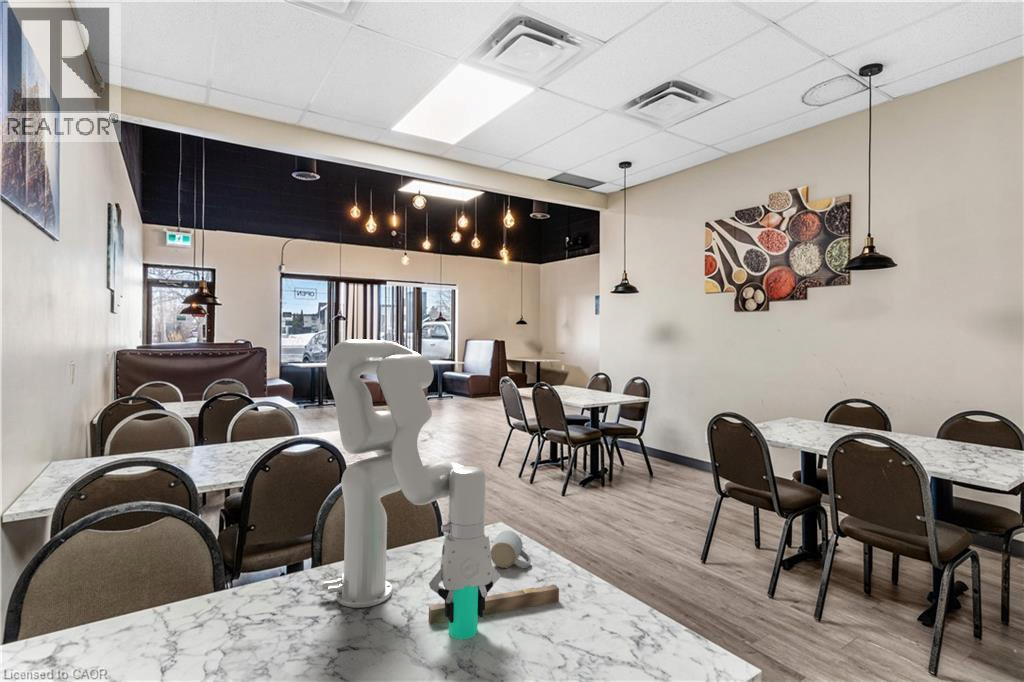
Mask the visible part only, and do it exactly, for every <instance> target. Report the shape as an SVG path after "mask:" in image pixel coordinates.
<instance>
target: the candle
mask: <svg viewBox="0 0 1024 682" xmlns="http://www.w3.org/2000/svg"><path fill="white" fill-rule="evenodd" d="M452 602H453V603H454V621H453V623H450V621H448V635H450V636H451V638H454V639H457V640H469V639H470V638H473V637H474V636H476V635H477V633H478V617H479V616H478V587H471V585H470V586H465V588H464V589H460V590H454V591H453V599H452Z"/></svg>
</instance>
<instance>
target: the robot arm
mask: <svg viewBox="0 0 1024 682" xmlns="http://www.w3.org/2000/svg"><path fill="white" fill-rule="evenodd" d="M325 367H326V368H325V370H326V371H325V372H326V377H327V378H326V379H327V381H328V384H329V387H330V390H331V393H332V396H333V399H334V404H335V410H336V417H337V422H338V423H337V424H338V428H339V434H340V439H341V444H342V447H343V449H344V451H346V452H347V453H348V454H350V455H361V454H362V455H364V454H367V453H373V452H376V455H377V456H373V457H367V458H364V459H361V460H356V461H355V462H353V463H351V464H349V466H347V467H346V468H345V470H344V471H343V474H342V477H341V481H340V483H341V484H340V485H341V491H342V497H343V502H344V546H343V547H344V550H343V551H344V553H343V554H344V556H343V557H344V558H343V559H344V560H343V572H342V573H341V577H337V579H335V580H331V579H330V580H324V581H322V591H328V594H335V593H336V594H335V595H336V596H335V598H336V601H337V603H338V604H340V605H341V606H343V607H348V608H352V609H353V608H355V609H359V608H360V609H361V608H369V607H374V606H376V605H379V604H381V603H383V602H385V601H387V600H388V599H389V598H390V597H391V595H392V593H393V585H392V584H391V582H389V581H388V580H386V578H387V577H386V575H387V539H388V538H387V537H388V534H387V533H388V516H387V512H386V510H385V507H384V505H383V503H382V500H381V498H383V497H385V496H387V495H390V494H394V493H397V492H399V491H401V492H402V494H403V496H404V497H405V498H406V499H407V500H408V502H410V503H412V504H413V505H415V506H416V505H417V506H424V505H427V504H430V503H433V502H435V501H438V500H440V499H444V498H447V497H448V519H447V522H446V523H445V524H441V527H440V528H441V533H446V534H445V535H444V539H443V543H442V548H441V549H442V550H441V558H440V569H439V570H438V571H437V573H436V574H435V575H434V576H433V577H432V579H431V580H430V582H429V583H428V586H429V589H431V590H432V591H433V592H435V593H436V594H438V596H439V597H440V598H441V599H442V600H443V601H444V603H445V616H446V617H448V619H449V621H450V623H453V621H454V603H453V602H452V599H453V591H454V590H460V589H464V588H465V586H470V585H471V587H478V617H479V618H483V616H484V615H483V610H485V597H486V596H488V593H489V591H491V589H492V588H493V587H494V584H496V583H497V582H498V581H499V580H500V578H501V574H500V573H499V571H498V570H497V569H496V568H495V567H494V566H493V565H492V564H493V561H492V559H491V548H492V547H491V541H490V537H489V533H488V532H487V531H485V529H486V528H485V527H486V525H485V522H486V521H485V520H486V518H485V517H486V473H485V471H484V470H483V469H482V468H480V467H477V466H473V465H472V466H470V465H462V464H459V463H458V462H455V461H453V460H448V459H446V460H439V461H437V462H433V463H429V464H425V465H423V464H424V463H423V462H422V460H421V456H420V454H419V449H418V438H419V434H420V432H421V430H422V428H423V427H424V425H426V423H429V421H430V420H431V418H432V416H433V411H432V408H431V406H430V403H429V401H428V399H427V396H426V394H425V391H424V389H427V388H428V387H429V386H431V384H432V382H433V380H434V373H435V371H434V367H433V365H432V363H431V362H430V360H429V359H427V357H426V356H424V355H423V354H420V353H418V352H417V351H414V350H412V349H409V348H407V347H405V346H403V345H401V344H398V343H397V342H394V341H391V340H382V339H380V340H379V339H359V338H358V339H357V338H355V339H346V340H342V341H340V342H338V343H336V345H334V346H333V347H332V348H331V350H330V352H329V354H328V357H327V360H326V366H325ZM362 375H376V377H377V381H378V384H379V386H380V388H381V391H382V395H383V397H384V399H385V403H386V405H387V407H388V410H378V411H377V410H375V407H374V405H373V398H372V394H371V392H370V390H369V388H368V386H367V385H366V383H365V382H364V381H363V379H361V376H362ZM441 582H442V584H443V587H442V586H440V584H441ZM449 621H448V622H449Z"/></svg>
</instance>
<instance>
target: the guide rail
mask: <svg viewBox="0 0 1024 682" xmlns="http://www.w3.org/2000/svg"><path fill="white" fill-rule="evenodd" d="M559 599H560V588H559V587H558V586H557V585H556V584H552V585H544V586H540V587H534V586H533V587H528V588H522V589H521V590H516V591H509V592H503V593H502V592H501V593H497V594H492V595H491V594H490V595H487V596H486V597H485V610H483V616H486V615H491V614H492V615H493V614H497V613H501V612H502V613H503V612H507V611H514V610H520V609H525V608H531V607H535V606H542V605H548V604H553V603H558V602H559V601H560V600H559ZM428 621H429V624H430V625H437V624H442V623H447V622H448V623H449V619H448V617H446V616H445V602H444V603H437V604H431V605H428Z"/></svg>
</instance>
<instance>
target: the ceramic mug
mask: <svg viewBox="0 0 1024 682" xmlns="http://www.w3.org/2000/svg"><path fill="white" fill-rule="evenodd" d="M490 548H491V560H492V564H494V565H495V566H497V567H499V568H501V569H507V568H510V567H512V566H513V565H515V566H517V567H519V568H522V569H528V568H529V566H530V565H531V562H532V559H531V556H529V555H528V553H526V552H525V551H524V550H523V542H522V538H521V537H520V536H519V534H518V533H516V532H514V531H511V530H503V531H501V532H500V533H499V534H498V535H497V536H496V539H495V540H494V543H493V544H492V546H491V547H490ZM520 556H521V557H522V558H523V559H524V560H525V562H523V561H521V560H520V559H519V557H520Z"/></svg>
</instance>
